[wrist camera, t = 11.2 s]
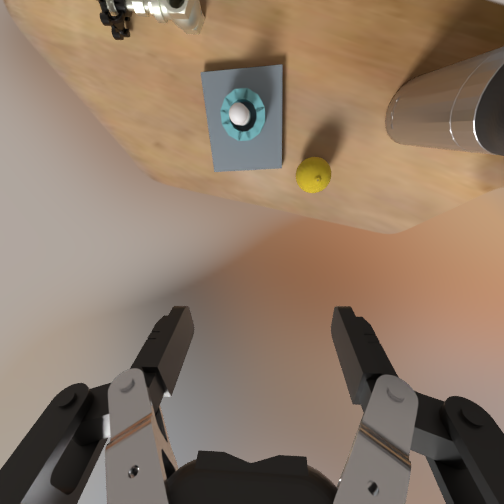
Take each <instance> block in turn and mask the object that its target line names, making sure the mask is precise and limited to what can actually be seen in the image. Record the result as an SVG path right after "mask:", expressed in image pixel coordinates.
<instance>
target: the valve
mask: <svg viewBox="0 0 504 504" xmlns="http://www.w3.org/2000/svg"><path fill="white" fill-rule="evenodd" d="M98 1H99V3H100V6H101V9H102V13H100V19H101V21H102V23H103V25H105V26H111V27H112V35H113V37H114V39H116V40H123V39H124V37H130V32H129V29H125V27H124V21H129V20H130V17H131V16H132V11H135V13H136V14H137V15H138V16H145V17H149V13H151V14H152V15H153V16H154V17H155V18H156V20H157V21H158V22H159V23H167V22H168V20H173V22H174V23H175V24H176V25H177V26H178V27H179V28H181V29H182V30H183V31H184V32H185V33H186V34H200V31H201V29H202V26H203V23H204V20H205V17H204V15H203V13H202V10H201V5H200V1H199V0H98ZM109 11H110V12H111V13H112V14H113V15H117V16H111V14H110V12H109ZM119 32H120V33H119Z"/></svg>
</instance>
